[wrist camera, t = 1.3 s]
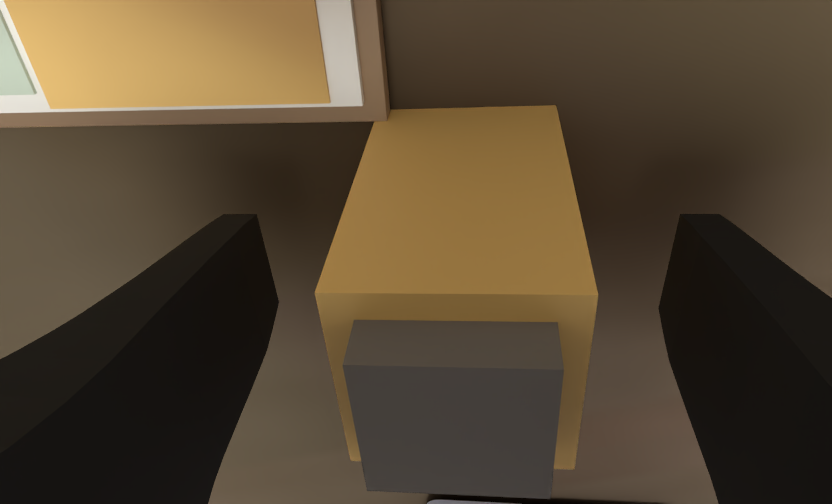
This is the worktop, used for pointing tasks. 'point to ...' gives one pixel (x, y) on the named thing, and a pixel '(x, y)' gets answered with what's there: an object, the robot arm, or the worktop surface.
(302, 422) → the worktop surface
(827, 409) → the robot arm
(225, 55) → the compartment tray
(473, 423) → the block
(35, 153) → the worktop surface
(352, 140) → the worktop surface
